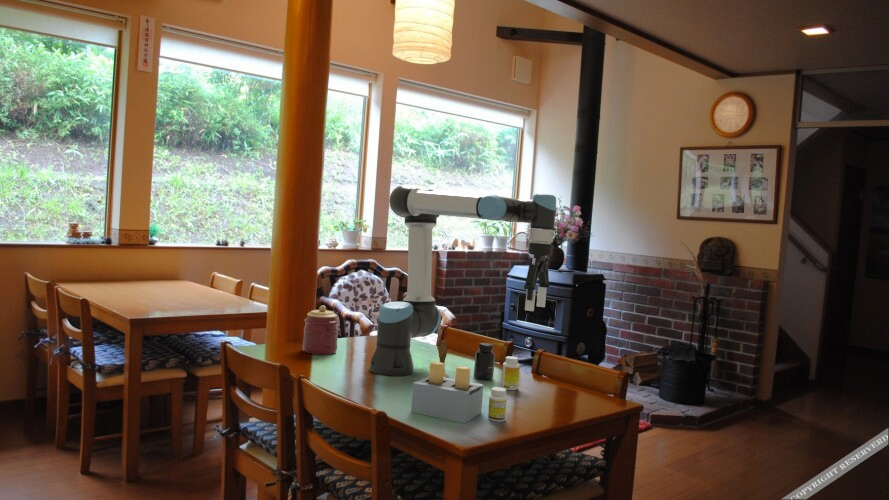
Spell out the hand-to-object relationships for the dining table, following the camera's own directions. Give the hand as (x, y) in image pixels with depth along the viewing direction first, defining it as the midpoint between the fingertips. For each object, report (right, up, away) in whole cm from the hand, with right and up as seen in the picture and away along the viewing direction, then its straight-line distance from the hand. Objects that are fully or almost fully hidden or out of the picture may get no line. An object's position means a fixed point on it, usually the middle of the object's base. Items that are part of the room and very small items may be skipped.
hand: (535, 308), depth 210 cm
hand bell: (-30, -25, -6) cm, 40 cm away
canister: (-76, -20, +38) cm, 88 cm away
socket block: (-29, -26, -28) cm, 48 cm away
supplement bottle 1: (-16, -26, +16) cm, 34 cm away
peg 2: (-25, -21, -30) cm, 44 cm away
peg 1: (-32, -20, -27) cm, 46 cm away
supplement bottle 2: (-15, -28, -31) cm, 44 cm away
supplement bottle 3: (-8, -27, +4) cm, 28 cm away
